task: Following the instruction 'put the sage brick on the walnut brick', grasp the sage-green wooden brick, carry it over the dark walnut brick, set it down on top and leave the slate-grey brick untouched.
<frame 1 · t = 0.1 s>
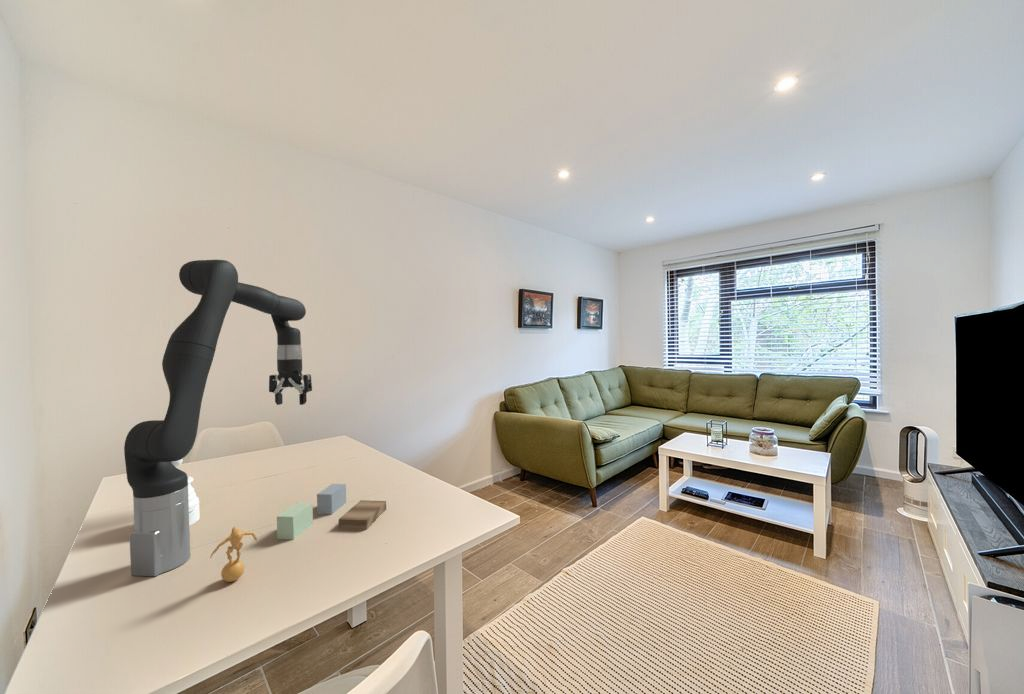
hand: (291, 404, 131), 29 cm above the table, fingers open, 8 cm apart
figurine: (235, 582, 80), on the table
slate brick: (332, 508, 115), on the table
sage brick: (295, 531, 101), on the table
walnut brick: (363, 520, 108), on the table
honey pot: (170, 524, 106), on the table
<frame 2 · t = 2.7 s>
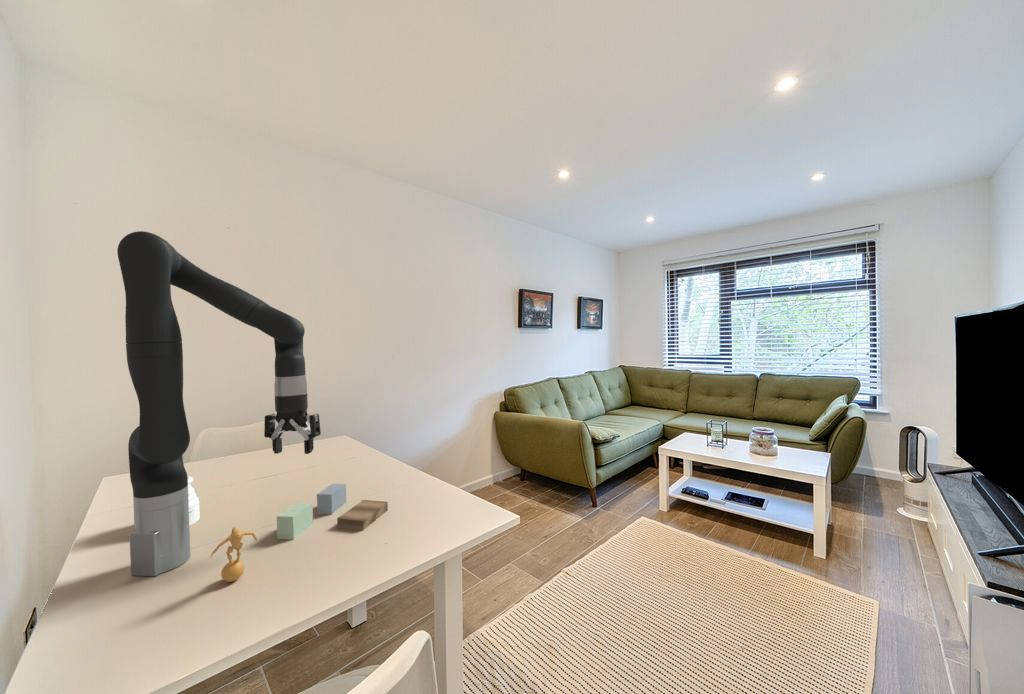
hand: (293, 453, 101), 21 cm above the table, fingers open, 8 cm apart
nothing on the table moved.
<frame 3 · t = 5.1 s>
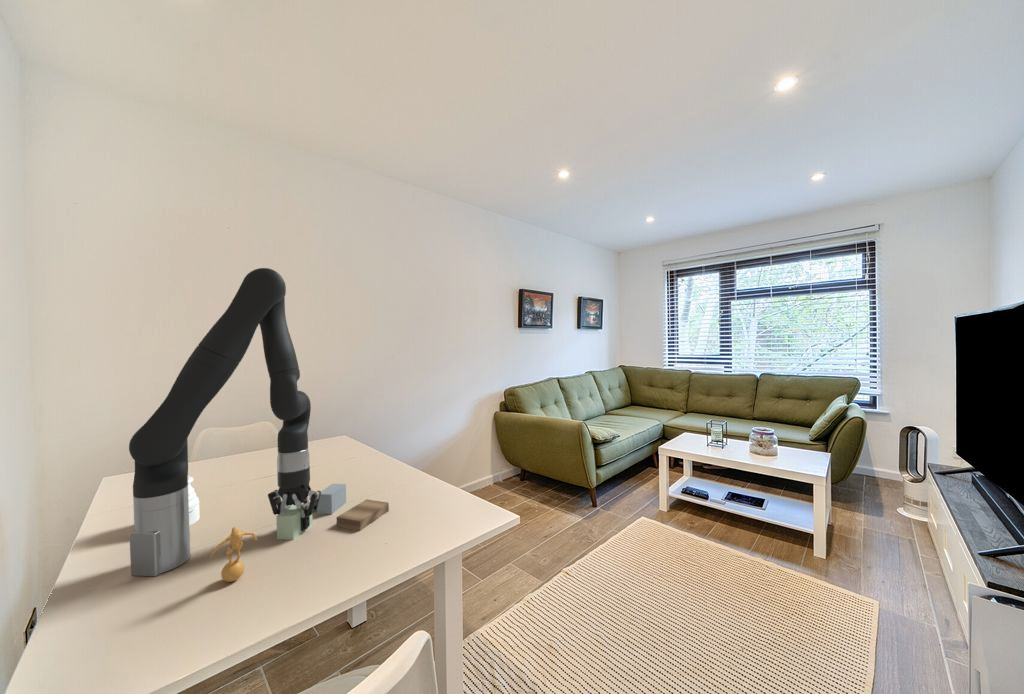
hand: (295, 529, 101), 1 cm above the table, fingers closed on sage brick, 4 cm apart
sage brick: (295, 531, 101), on the table, touching gripper
everything else where it was.
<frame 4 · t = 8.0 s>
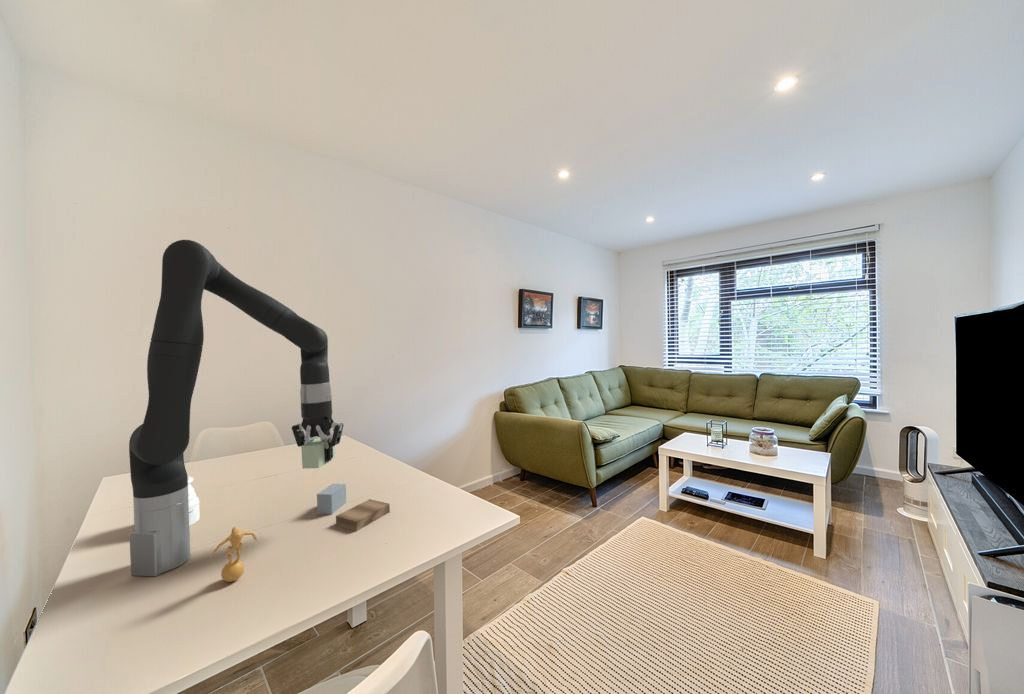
hand: (319, 460, 103), 18 cm above the table, fingers closed on sage brick, 4 cm apart
sage brick: (319, 463, 103), point 17 cm above the table, touching gripper
when the fingers open (5 cm above the table, at t = 11.0 s): sage brick drops 1 cm, resting on walnut brick.
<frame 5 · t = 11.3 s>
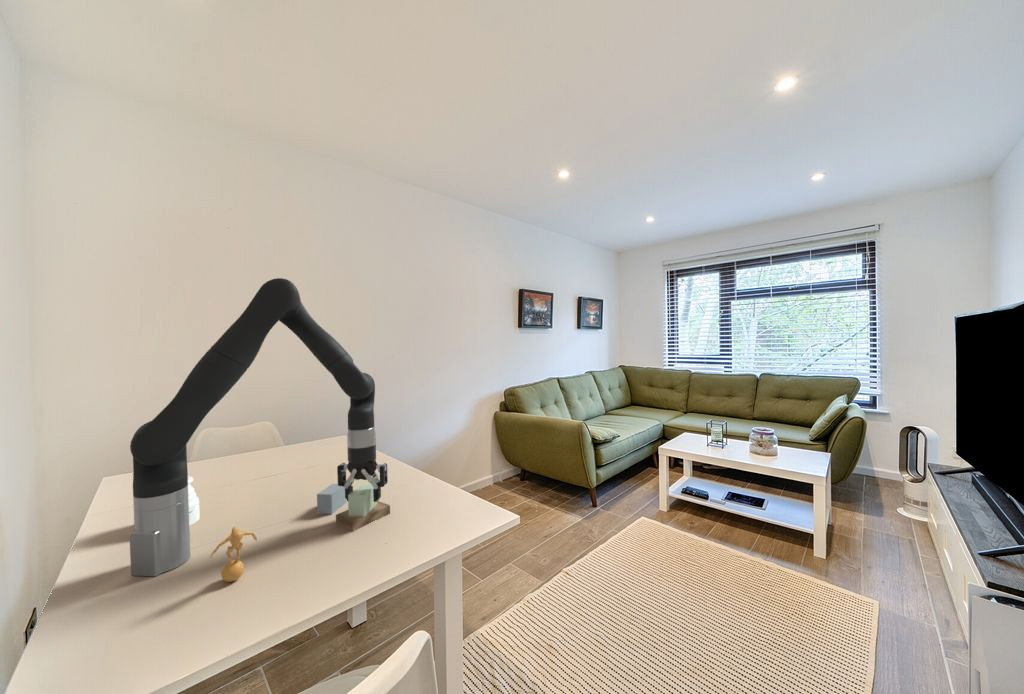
hand: (363, 500, 107), 5 cm above the table, fingers open, 7 cm apart
sage brick: (363, 509, 107), point 2 cm above the table, touching walnut brick
walnut brick: (363, 520, 108), on the table, touching sage brick
everything else where it was.
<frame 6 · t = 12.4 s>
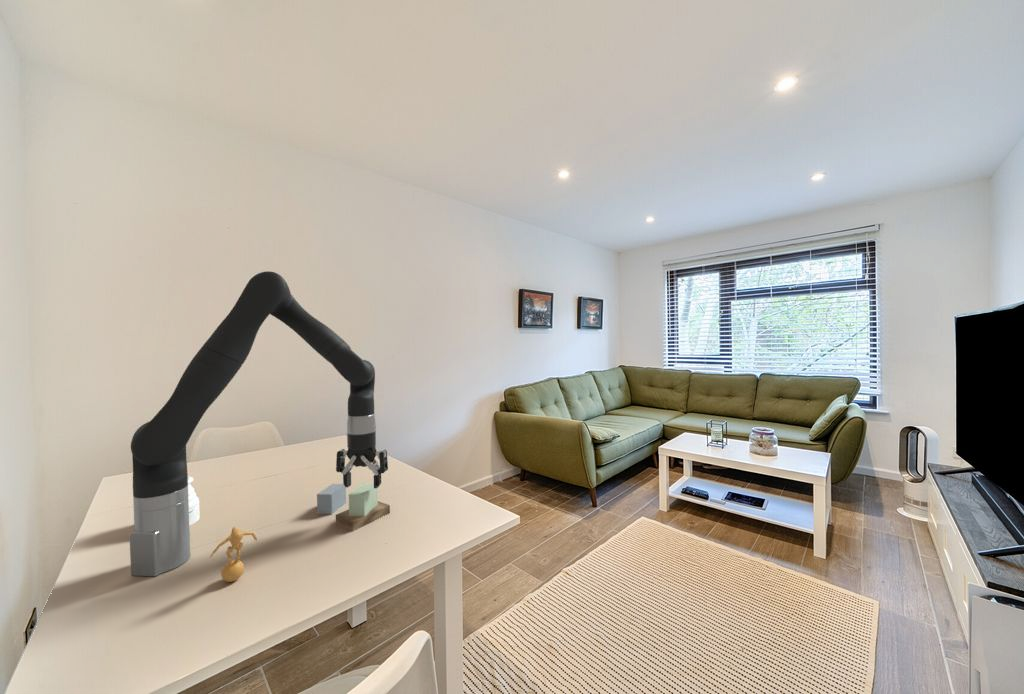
hand: (362, 486, 107), 9 cm above the table, fingers open, 8 cm apart
nothing on the table moved.
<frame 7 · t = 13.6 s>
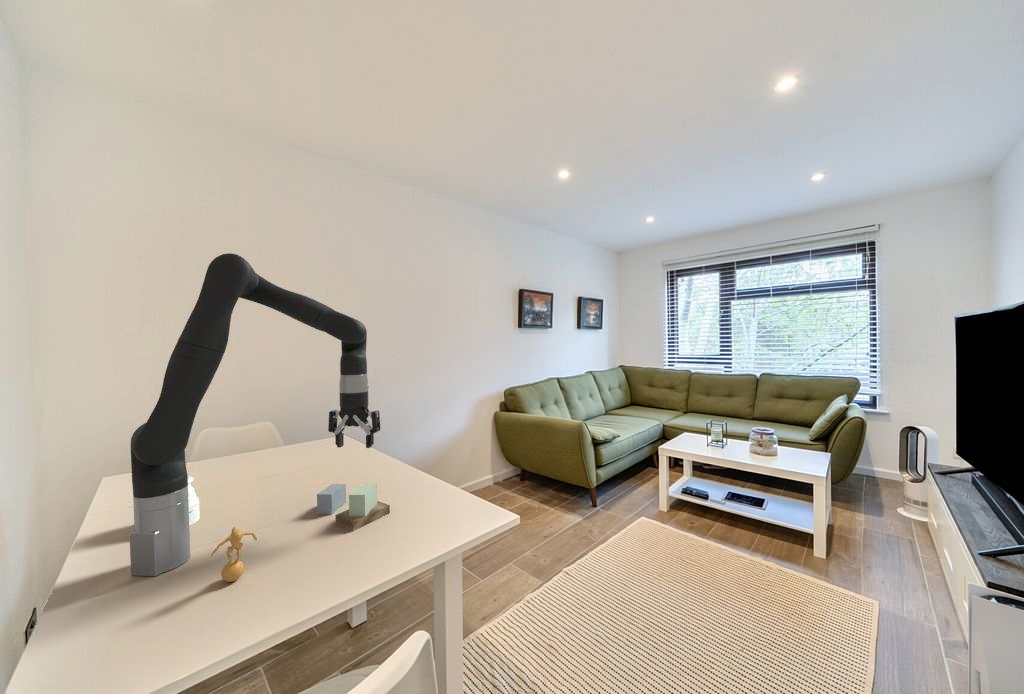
hand: (354, 447, 107), 21 cm above the table, fingers open, 8 cm apart
nothing on the table moved.
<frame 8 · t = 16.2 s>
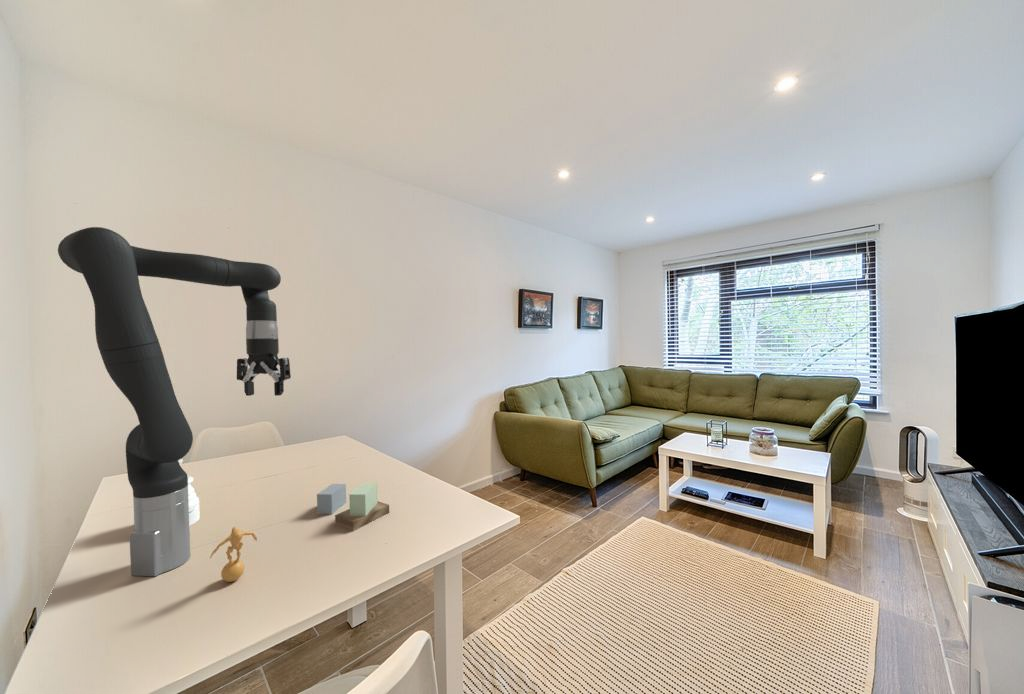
hand: (264, 395, 105), 36 cm above the table, fingers open, 8 cm apart
nothing on the table moved.
at the end: sage brick 0.4 cm off-centre on the walnut brick, point 3.0 cm above the walnut brick's base; sage brick tilted 1°; slate brick moved 0.1 cm from its start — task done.
